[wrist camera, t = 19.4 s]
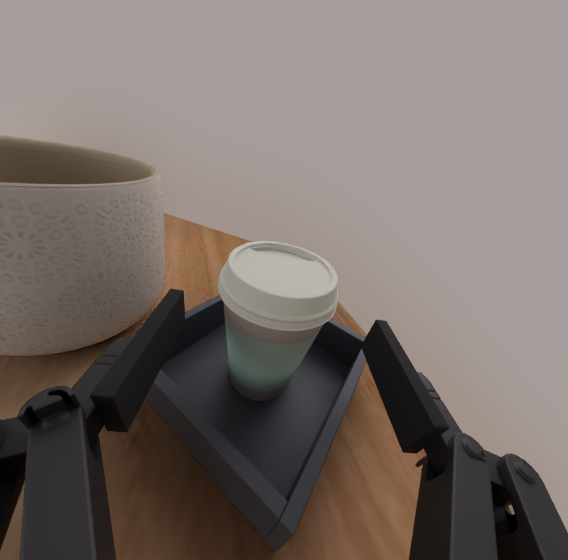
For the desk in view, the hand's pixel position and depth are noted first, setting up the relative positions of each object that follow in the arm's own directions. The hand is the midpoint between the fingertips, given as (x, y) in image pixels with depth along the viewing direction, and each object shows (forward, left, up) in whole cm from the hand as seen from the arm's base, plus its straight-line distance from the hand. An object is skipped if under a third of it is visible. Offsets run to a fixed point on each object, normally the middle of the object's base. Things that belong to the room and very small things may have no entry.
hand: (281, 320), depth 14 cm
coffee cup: (+2, -1, -9) cm, 9 cm away
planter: (+21, +6, -10) cm, 23 cm away
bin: (+2, -1, -10) cm, 10 cm away
